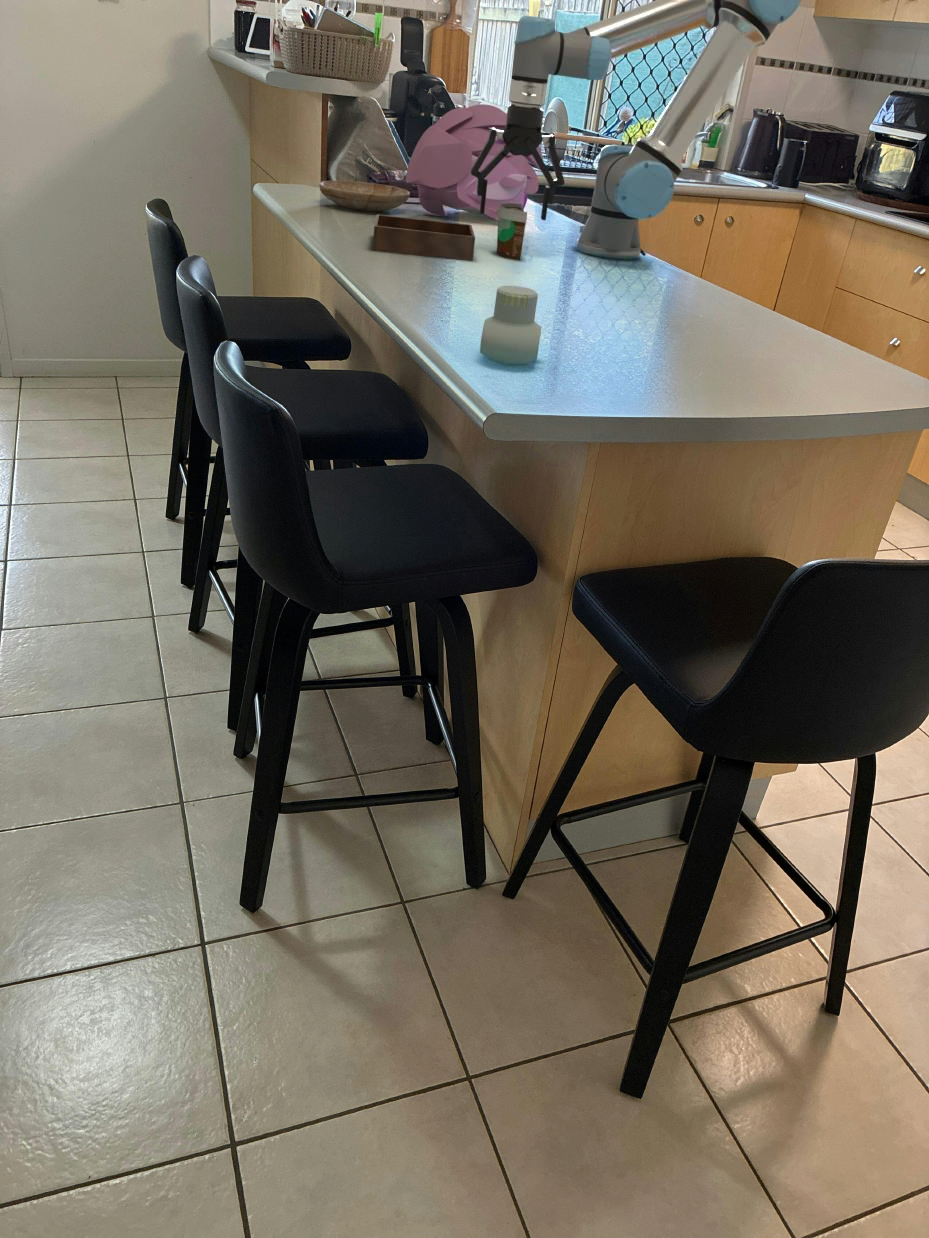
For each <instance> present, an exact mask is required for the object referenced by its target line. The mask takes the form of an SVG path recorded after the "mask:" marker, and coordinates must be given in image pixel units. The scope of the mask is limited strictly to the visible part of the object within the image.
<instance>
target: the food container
mask: <svg viewBox="0 0 929 1238" xmlns="http://www.w3.org/2000/svg"><path fill="white" fill-rule="evenodd" d="M496 216H498V221H497V235H496V236H497V237H496V253H495V254H496V255H497V256H499V257H501V258H505V259H508V260H515V261H521V257H522V251H523V246H524V245H523V244H524V237H525V230H526V225H527V218H528V211H525V209H524V210H522V204H515V203H503V204H500V205H499V207H498V209H497V212H496Z"/></svg>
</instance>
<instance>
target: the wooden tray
mask: <svg viewBox="0 0 929 1238" xmlns="http://www.w3.org/2000/svg"><path fill="white" fill-rule="evenodd" d="M372 241H373V242H372V251H374V252H384V253H393V254H401V255H403V254H404V255H413V256H421V257H422V256H423V257H432V258H439V259H450V260H458V261H459V260H460V261H468V262H473V261H474V253H475V243H476V236H475V233H474V229H473V226H472V224H468V223H467V224H466V223H460V222H459V223H458V222H449V221H439V220H431V219H423V218H413V217H405V216H395V215H386V214H379V213H378V214H376V216H375V222H374V226H373V240H372Z"/></svg>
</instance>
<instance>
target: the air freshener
mask: <svg viewBox="0 0 929 1238" xmlns="http://www.w3.org/2000/svg"><path fill="white" fill-rule="evenodd" d="M538 297H539V295H538V292H537V291H536V290H534V289H531V288H529V287H526V286H519V285H501V286H499V287H498V288H497V289H496V295H495V303H494V310H493V315H492V316H489V317H486V318H485V319H484V322H483V326H482V330H481V337H480V346H479V352H480V353H481V354H482V356H484V357H486V358H487V359H488V360H490V361H491V362H494V363H498V364H502V365H507V366H526V365H529V364H531V363H534V362H536V361H537V360H538V354H539V349H540V341H541V333H542V326H541V325H540V324H539V323H538V322H536V321H535V318H536V313H537V312H536V311H537V304H538Z"/></svg>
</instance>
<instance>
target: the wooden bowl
mask: <svg viewBox="0 0 929 1238" xmlns="http://www.w3.org/2000/svg"><path fill="white" fill-rule="evenodd" d="M318 187H319V190H320V192H321V194H322V195H323V196H324V197H325V198H326V199H328V200H329V201H331V202H332V203H333V204H336V205H338V206H341V207H343V208H347V209H352V210H359V211H367V212H383V211H389V210H393V209H396V208H398V207H401V206H402V205H403V204H405V203H406V202H407V201H408V200H409V199H410V191H409V190H407V189H406V188H405V189H404V188H401V187H397V186H394V185H388V184H381V183H373V182H365V181H357V180H356V181H355V180H337V179H335V180H324V181H321V182H319V186H318Z"/></svg>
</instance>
